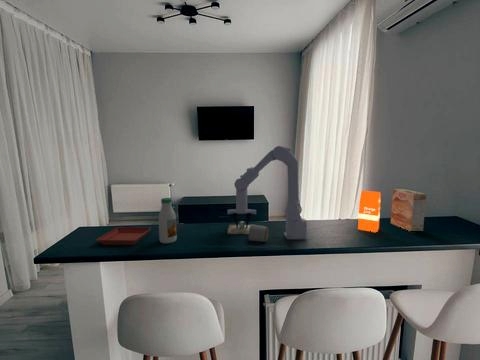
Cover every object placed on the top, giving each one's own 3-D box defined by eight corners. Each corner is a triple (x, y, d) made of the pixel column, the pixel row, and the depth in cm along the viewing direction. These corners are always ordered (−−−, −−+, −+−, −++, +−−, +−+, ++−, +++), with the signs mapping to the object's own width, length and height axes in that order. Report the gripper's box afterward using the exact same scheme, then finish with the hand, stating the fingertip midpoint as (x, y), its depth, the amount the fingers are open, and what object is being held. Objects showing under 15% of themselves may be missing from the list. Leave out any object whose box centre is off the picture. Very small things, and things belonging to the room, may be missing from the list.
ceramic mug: (266, 245, 112) (266, 228, 111) (248, 243, 114) (248, 226, 113) (269, 237, 122) (270, 221, 121) (253, 235, 124) (253, 220, 123)
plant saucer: (117, 232, 130) (117, 226, 130) (152, 233, 129) (151, 227, 128) (96, 246, 112) (95, 239, 112) (135, 247, 111) (135, 240, 111)
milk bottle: (161, 245, 113) (159, 201, 110) (158, 239, 119) (156, 197, 117) (178, 241, 116) (176, 199, 113) (174, 236, 123) (172, 196, 120)
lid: (253, 225, 136) (253, 218, 135) (253, 232, 124) (253, 225, 124) (231, 225, 136) (231, 218, 136) (230, 232, 125) (229, 225, 124)
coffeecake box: (389, 223, 141) (392, 188, 139) (401, 222, 142) (404, 188, 140) (410, 232, 127) (413, 194, 124) (423, 231, 127) (427, 193, 125)
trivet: (255, 226, 137) (255, 224, 137) (255, 235, 123) (256, 233, 123) (229, 226, 138) (229, 224, 137) (227, 235, 124) (227, 233, 124)
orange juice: (360, 225, 138) (362, 189, 135) (378, 228, 133) (381, 191, 130) (357, 229, 132) (359, 191, 129) (376, 232, 126) (379, 193, 124)
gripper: (255, 199, 132) (255, 225, 134) (228, 199, 133) (228, 225, 134) (256, 203, 125) (256, 229, 127) (227, 203, 126) (227, 229, 127)
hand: (242, 227), depth 130 cm, fingers open, 4 cm apart
